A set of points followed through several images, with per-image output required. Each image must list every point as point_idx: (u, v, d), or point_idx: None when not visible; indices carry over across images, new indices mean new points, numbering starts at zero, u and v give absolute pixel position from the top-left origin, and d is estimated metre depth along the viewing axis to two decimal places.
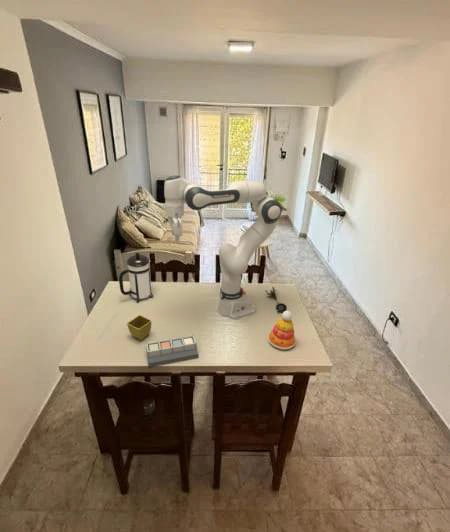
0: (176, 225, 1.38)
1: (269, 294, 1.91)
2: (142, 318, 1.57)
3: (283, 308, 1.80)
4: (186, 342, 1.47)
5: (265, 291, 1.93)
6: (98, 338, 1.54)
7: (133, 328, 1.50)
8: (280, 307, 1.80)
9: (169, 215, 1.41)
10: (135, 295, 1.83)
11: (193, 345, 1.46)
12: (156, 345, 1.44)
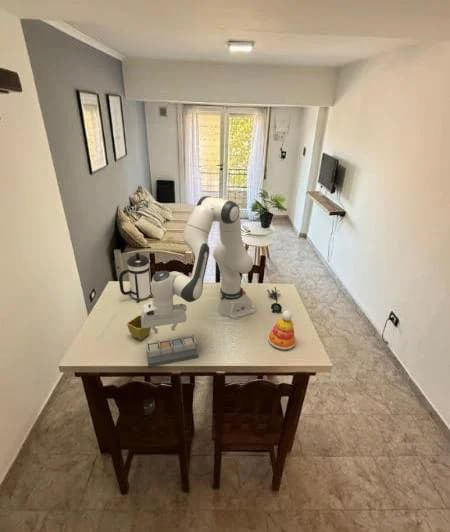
0: (185, 311, 1.38)
1: (270, 293, 1.92)
2: None
3: (278, 308, 1.80)
4: (186, 342, 1.47)
5: None
6: (98, 338, 1.54)
7: (133, 328, 1.50)
8: (275, 307, 1.80)
9: (171, 310, 1.33)
10: (135, 295, 1.83)
11: (193, 345, 1.46)
12: (156, 345, 1.44)
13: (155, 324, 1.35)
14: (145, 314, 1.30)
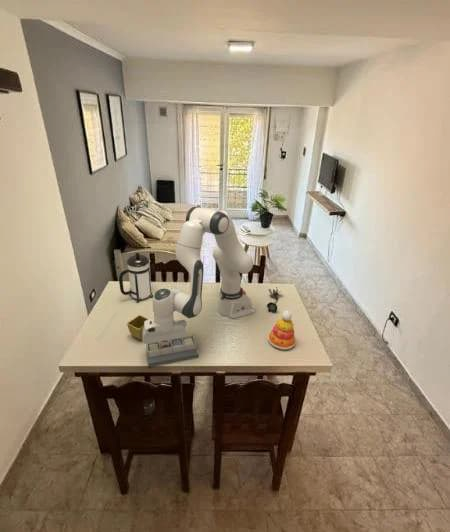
0: None
1: None
2: (142, 318, 1.57)
3: (274, 308, 1.80)
4: (186, 342, 1.47)
5: (268, 289, 1.94)
6: (98, 338, 1.54)
7: (133, 328, 1.50)
8: (272, 306, 1.81)
9: (172, 327, 1.37)
10: (135, 295, 1.83)
11: (193, 345, 1.46)
12: (156, 345, 1.44)
13: (156, 340, 1.39)
14: (146, 331, 1.34)
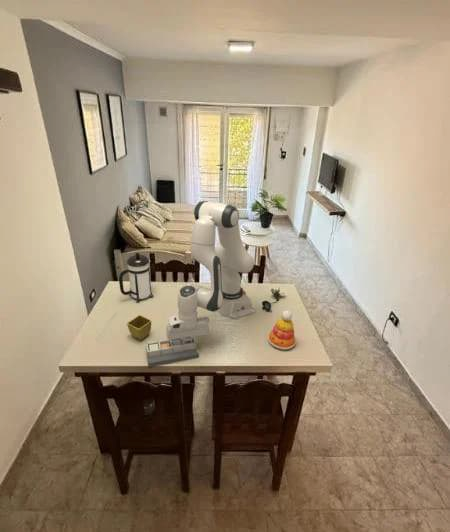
0: (208, 323, 1.45)
1: (272, 293, 1.93)
2: (142, 318, 1.57)
3: (269, 307, 1.81)
4: None
5: (271, 289, 1.95)
6: (97, 338, 1.54)
7: (133, 328, 1.50)
8: (266, 305, 1.82)
9: (196, 323, 1.40)
10: (135, 295, 1.83)
11: (193, 345, 1.46)
12: (156, 345, 1.44)
13: (180, 336, 1.42)
14: (171, 327, 1.37)
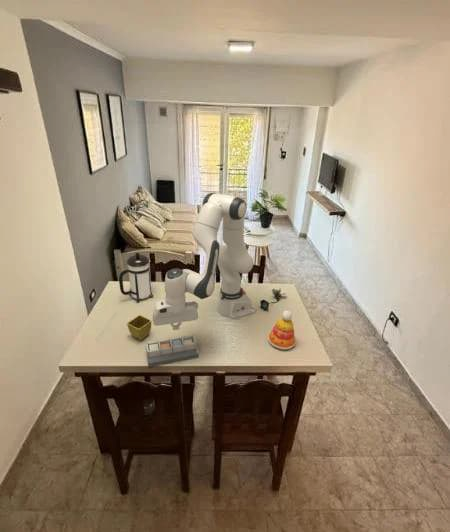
0: (196, 309, 1.39)
1: None
2: (142, 318, 1.57)
3: (266, 306, 1.81)
4: (186, 343, 1.47)
5: (272, 289, 1.95)
6: (97, 338, 1.54)
7: (133, 328, 1.50)
8: (264, 304, 1.82)
9: (183, 308, 1.34)
10: (135, 295, 1.83)
11: (193, 345, 1.46)
12: (156, 345, 1.44)
13: (167, 322, 1.36)
14: (158, 311, 1.30)
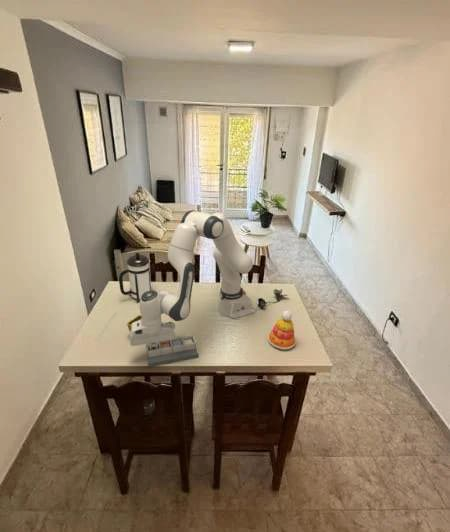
0: (173, 329, 1.41)
1: None
2: None
3: (263, 305, 1.83)
4: (186, 343, 1.47)
5: (274, 289, 1.95)
6: (97, 338, 1.54)
7: None
8: (262, 303, 1.84)
9: (159, 329, 1.36)
10: (135, 295, 1.83)
11: (193, 345, 1.46)
12: None
13: (144, 342, 1.38)
14: (133, 333, 1.32)
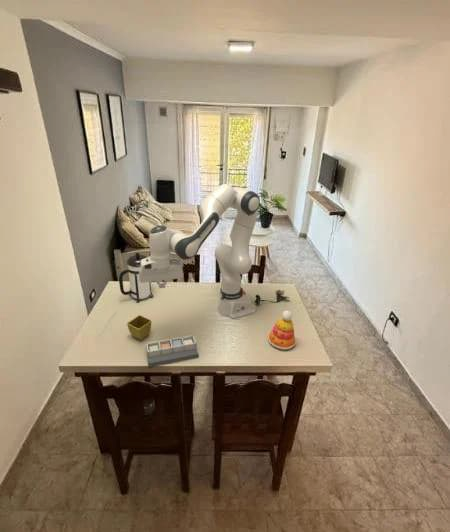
0: (181, 267, 1.42)
1: None
2: (142, 318, 1.57)
3: (259, 302, 1.85)
4: (186, 343, 1.47)
5: None
6: (97, 338, 1.54)
7: (133, 328, 1.50)
8: (258, 299, 1.87)
9: (168, 265, 1.37)
10: (135, 295, 1.83)
11: (193, 345, 1.46)
12: (156, 346, 1.44)
13: (153, 279, 1.39)
14: (143, 267, 1.34)
